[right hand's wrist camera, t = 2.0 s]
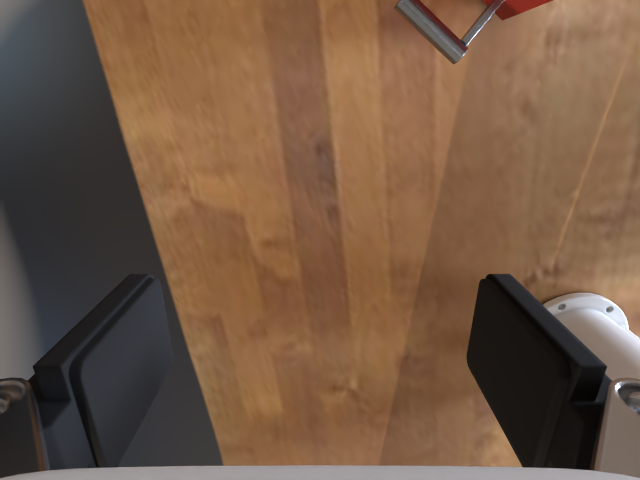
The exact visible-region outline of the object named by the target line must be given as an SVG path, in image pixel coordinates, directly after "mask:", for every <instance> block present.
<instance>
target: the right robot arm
mask: <svg viewBox="0 0 640 480" xmlns="http://www.w3.org/2000/svg"><path fill="white" fill-rule="evenodd" d="M172 363H173V351H172V345H171V339H170V334H169V328H168V322H167V316H166V311H165V305H164V299H163V293H162V288H161V283H160V281H159V280H158V279H155V278H154V276H153V275H152V274H130V275H128V276H127V277H126V278H125V279H124V280H123V281H122V282H121V283H120V284H119V285H118V286H117V287H116V288H115V289H114V290H113V291H112V292H111V293H109V294H108V295H107V296H106V297H105V298H104V299H103V300H102V301H101V302H100V303H99V304H98V305H97V306H96V307H95V308H94V309H93V310H92V311H91V312H89V313H88V314H87V315H86V316H85V317H84V318H83V319H82V320H81V321H80V322H79V323H78V324H77V325H76V326H75V327H74V328H73V329H72V330H70V331H69V332H68V333H67V334H66V335H65V336H64V337H63V338H62V339H61V340H60V341H59V342H58V343H57V344H56V345H55V346H54V347H53V348H52V349H50V350H49V351H48V352H47V353H46V354H45V355H44V356H43V357H42V358H41V359H40V360H39V361H38V362H37V363H36V364H35V365H34V366H33V369H34V372H35V374H34V375H33V376H32V377H31V378H30V379H29V380H28V381H27V380H25V379H22V378H6V379H0V480H640V338H639V337H637V336H636V335H635V334H633V333H632V332H631V331H629V330H628V323H627V319H626V317H625V315H624V313H623V312H622V310H621V309H620V308H619V307H618V306H617V305H615V304H614V303H613V302H611V301H610V300H608V299H607V298H604V297H602V296H600V295H596V294H592V293H572V294H567V295H563V296H559V297H557V298H554V299H552V300H550V301H548V302H546V303H545V304H543V305H542V304H541V303H540V302H539V301H538V300H537V299H536V298H535V297H534V296H533V295H532V294H531V293H529V292H528V291H527V290H526V289H525V288H524V287H523V286H522V285H521V284H520V283H519V282H518V281H517V280H516V279H515V278H514V277H513V276H512V275H510V274H488V275H487V276H486V278H485V279H481V281H480V283H479V288H478V293H477V299H476V305H475V311H474V316H473V322H472V328H471V334H470V339H469V345H468V351H467V363H468V367H469V369H470V371H471V373H472V374H473V376H474V378H475V380H476V382H477V384H478V385H479V387H480V389H481V391H482V393H483V395H484V397H485V398H486V400H487V402H488V404H489V406H490V408H491V409H492V411H493V413H494V415H495V417H496V419H497V420H498V422H499V424H500V426H501V428H502V430H503V432H504V433H505V435H506V437H507V439H508V441H509V443H510V444H511V446H512V448H513V450H514V452H515V454H516V455H517V457H518V459H519V461H520V463H521V465H522V467H474V466H332V465H308V466H166V467H117V466H118V465H119V463H120V461H121V459H122V457H123V455H124V454H125V452H126V450H127V448H128V446H129V444H130V442H131V441H132V439H133V437H134V435H135V433H136V432H137V430H138V428H139V426H140V424H141V422H142V420H143V419H144V417H145V415H146V413H147V411H148V409H149V408H150V406H151V404H152V402H153V400H154V398H155V397H156V395H157V393H158V391H159V389H160V387H161V385H162V384H163V382H164V380H165V378H166V376H167V374H168V373H169V371H170V369H171V367H172Z"/></svg>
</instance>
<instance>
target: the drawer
mask: <svg viewBox="0 0 640 480" xmlns="http://www.w3.org/2000/svg"><path fill="white" fill-rule="evenodd" d="M483 1H484V2H485V3H486V4H487V5H488V7H487V8H486V9H485V10H484V11H483V13H482V14H481V15H480V16H479V18H478V19H477V20H476V21H475V23H474V24H473V25H472V26H471V28H470V29H469V30H468V31H467V32H466V34H465V35H464V36H463V37H462V39H461V40H460V39H459V38H458V37H457V36H456V35H455V34H454V33H453V32H452V31H451V30H450V29H449V28H448V27H447V26H446V25H444V24H443V23H442V22H441V21H440V20H439V19H438V18H437V17H436V16H435V15H434V14H433V13H432V12H431V11H430V10H429V9H428V8H427V7H426V6H425V5H424V4H423V3H422V2H421V1H420V0H399V1H398V3H397V4H396V5H395V7H394V9H395V10H396V11H397V12H398V13H399V14H401V15H402V16H403V17H404V18H405V19H406V20H407V21H408V22H409V23H410V24H411V25H412V26H413V27H414V28H415V29H416V30H417V31H418V32H420V33H421V34H422V35H423V36H424V37H425V38H426V39H427V40H428V41H429V42H430V43H431V44H432V45H433V46H434V47H435V48H436V49H437V50H438V51H440V52H441V53H442V54H443V55H444V56H445V57H446V58H447V59H448V60H449V61H450V62H451V63H452V64H455V63H457V62H458V61H459V60H460V59H461V58H462V57H463V56H464V55H465V53H466V52H467V50H468V47H467V46H466V45H468V44H469V43H470V41H471V40H472V39H473V38H474V36H475V35H476V34H477V33H478V32H479V30H480V29H481V28H482V27H483V25H484V24H485V23H486V22H487V21H488V19H489V18H490V17H491V16H492V14H493V13H494V12H495V13H496V14H497V15H498V17H499V18H500V19H501V20H505V19H507V18H510V17H512V16H515V15H517V14H520V13H522V12H525V11H527V10H530V9H532V8H535V7H537V6H540V5H542V4H545V3H547V2H550V1H552V0H483Z"/></svg>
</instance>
